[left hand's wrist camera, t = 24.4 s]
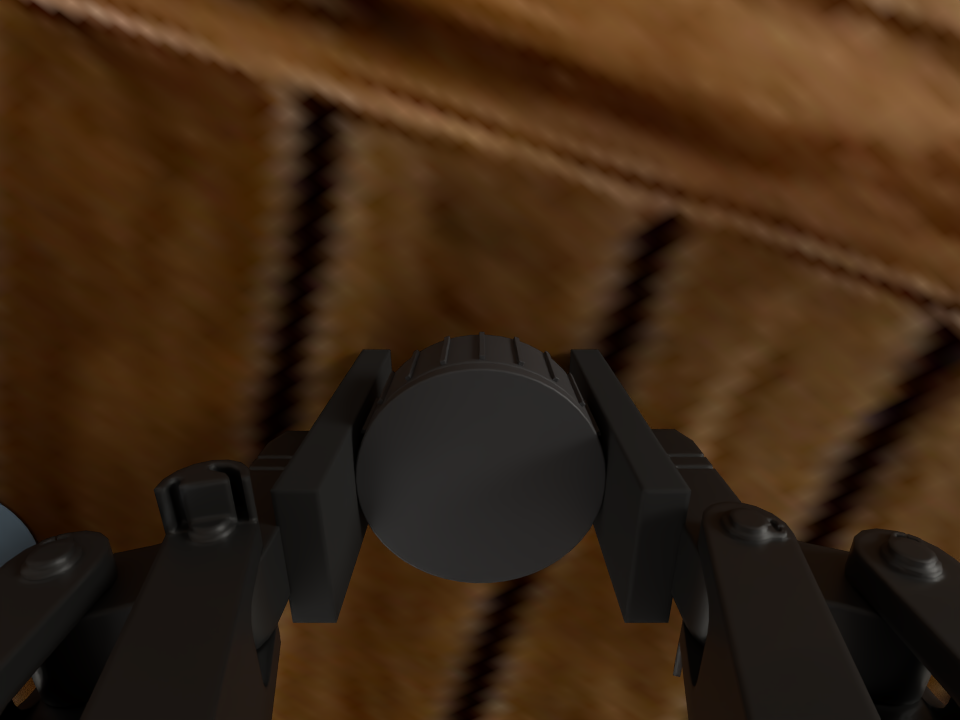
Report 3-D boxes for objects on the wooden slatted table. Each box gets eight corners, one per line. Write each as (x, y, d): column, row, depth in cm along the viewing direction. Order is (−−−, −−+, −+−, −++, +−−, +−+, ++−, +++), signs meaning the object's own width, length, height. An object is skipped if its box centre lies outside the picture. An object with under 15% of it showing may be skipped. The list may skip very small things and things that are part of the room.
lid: (633, 440, 12) (662, 492, 10) (473, 556, 13) (472, 623, 11) (489, 282, 11) (491, 308, 9) (326, 427, 12) (296, 478, 10)
